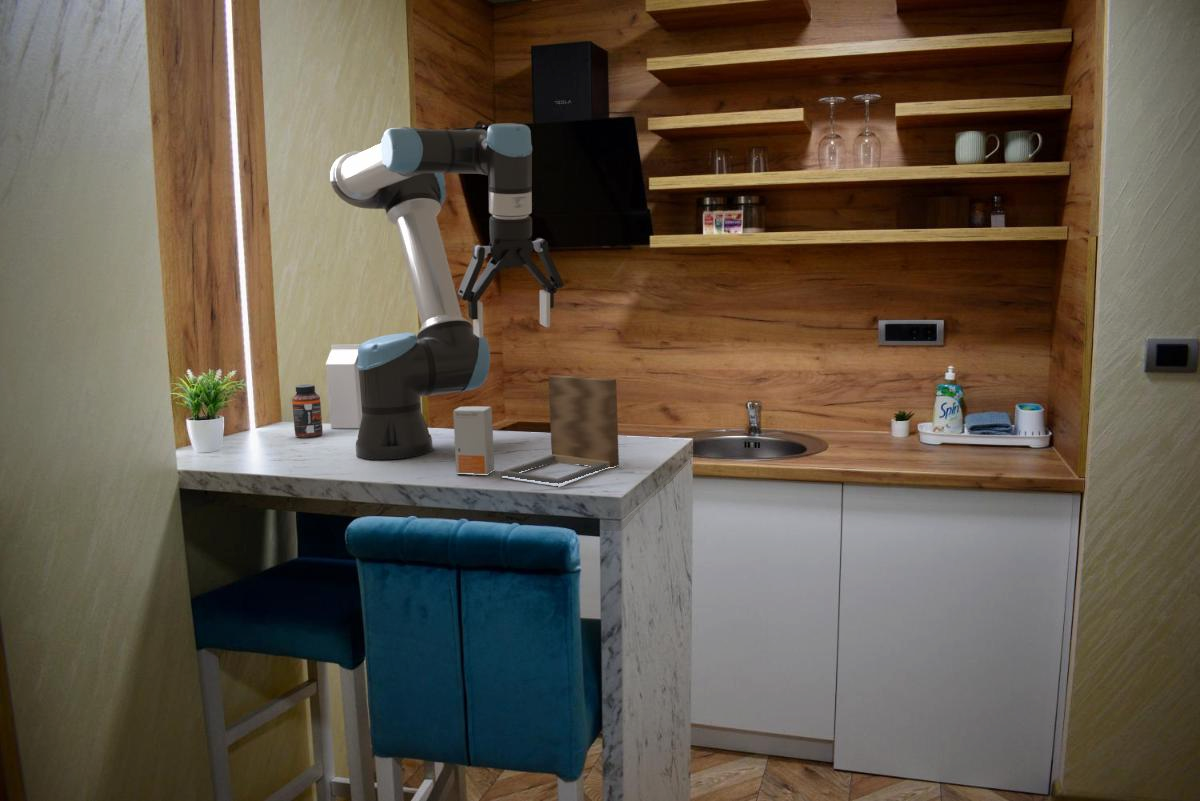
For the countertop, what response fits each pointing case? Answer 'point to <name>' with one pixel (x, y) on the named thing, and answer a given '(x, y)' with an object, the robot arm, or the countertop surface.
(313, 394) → the supplement bottle
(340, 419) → the milk carton
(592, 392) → the wall board
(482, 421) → the skincare box
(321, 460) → the countertop surface
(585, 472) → the grey rectangular frame
